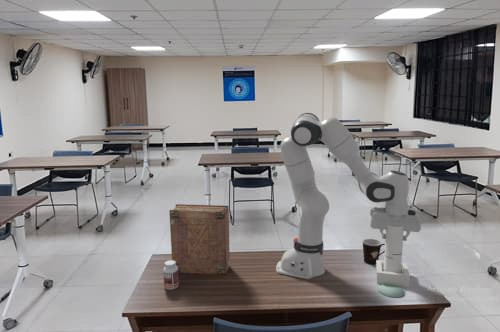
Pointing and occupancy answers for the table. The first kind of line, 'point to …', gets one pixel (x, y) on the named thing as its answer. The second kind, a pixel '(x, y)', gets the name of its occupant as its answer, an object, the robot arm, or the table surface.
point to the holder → (392, 275)
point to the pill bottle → (171, 275)
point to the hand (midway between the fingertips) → (394, 239)
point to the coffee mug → (371, 251)
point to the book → (200, 238)
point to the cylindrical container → (393, 249)
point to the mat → (391, 290)
